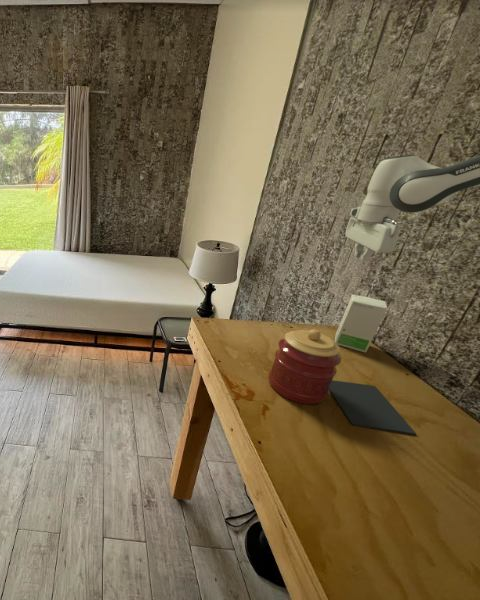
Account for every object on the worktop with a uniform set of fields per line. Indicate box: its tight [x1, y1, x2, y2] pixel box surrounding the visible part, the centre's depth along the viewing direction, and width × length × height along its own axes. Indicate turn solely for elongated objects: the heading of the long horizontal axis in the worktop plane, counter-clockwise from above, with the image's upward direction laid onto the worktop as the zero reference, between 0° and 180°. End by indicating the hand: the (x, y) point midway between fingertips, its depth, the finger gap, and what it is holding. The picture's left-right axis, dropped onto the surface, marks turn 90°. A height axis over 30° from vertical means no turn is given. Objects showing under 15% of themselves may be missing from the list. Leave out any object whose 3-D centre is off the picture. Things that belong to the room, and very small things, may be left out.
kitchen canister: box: [268, 328, 342, 405], centre depth 80 cm, size 13×13×18 cm
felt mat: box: [328, 379, 417, 436], centre depth 77 cm, size 12×16×1 cm
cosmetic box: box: [334, 294, 388, 353], centre depth 98 cm, size 8×7×16 cm
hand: (360, 258), depth 100 cm, fingers closed
